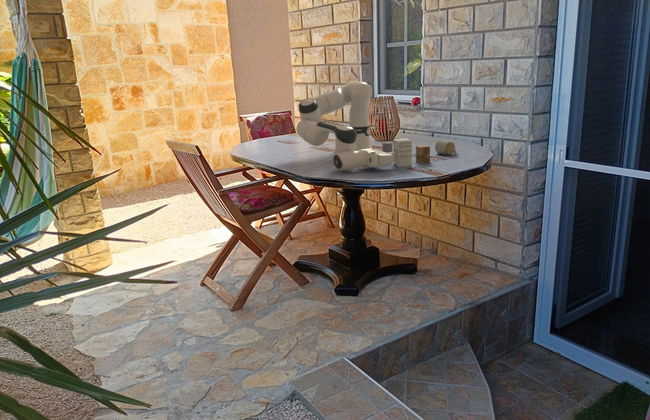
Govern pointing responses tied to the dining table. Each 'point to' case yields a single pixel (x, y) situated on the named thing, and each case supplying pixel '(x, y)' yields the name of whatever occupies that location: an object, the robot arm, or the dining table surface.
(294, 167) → the dining table surface
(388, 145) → the grey rounded cylinder
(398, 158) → the supplement box
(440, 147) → the ceramic mug
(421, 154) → the walnut block
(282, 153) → the dining table surface
